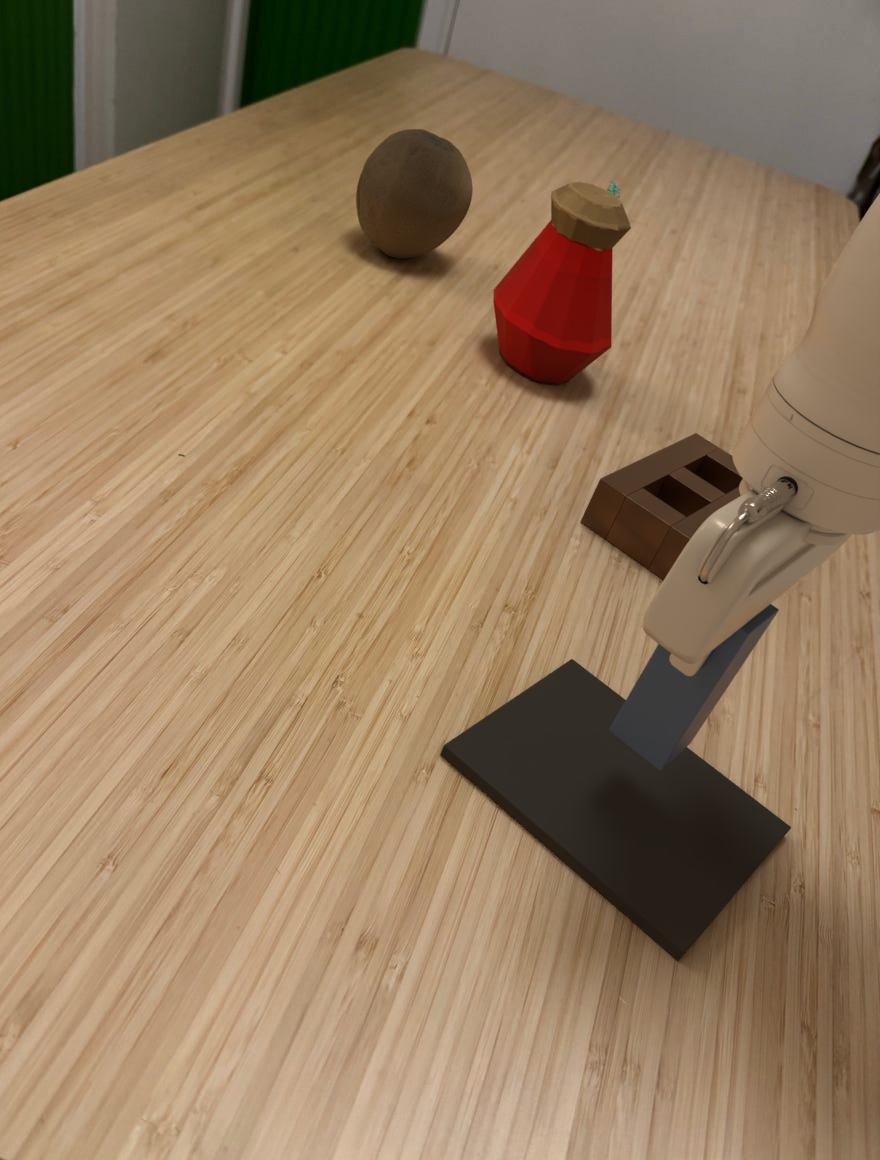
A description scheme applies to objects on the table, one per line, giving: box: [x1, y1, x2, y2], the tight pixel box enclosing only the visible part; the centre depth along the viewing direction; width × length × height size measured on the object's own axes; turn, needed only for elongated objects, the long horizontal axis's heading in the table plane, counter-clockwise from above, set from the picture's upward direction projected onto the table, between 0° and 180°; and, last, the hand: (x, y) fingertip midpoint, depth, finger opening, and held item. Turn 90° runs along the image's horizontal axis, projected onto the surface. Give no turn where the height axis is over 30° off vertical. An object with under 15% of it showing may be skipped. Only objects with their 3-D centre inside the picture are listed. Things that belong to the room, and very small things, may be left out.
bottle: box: [493, 181, 632, 387], centre depth 116 cm, size 16×14×20 cm
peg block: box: [580, 432, 743, 581], centre depth 101 cm, size 11×19×5 cm, turn 137°
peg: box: [609, 603, 780, 770], centre depth 65 cm, size 4×4×12 cm
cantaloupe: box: [355, 128, 474, 259], centre depth 132 cm, size 14×14×15 cm
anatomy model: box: [583, 180, 622, 200], centre depth 174 cm, size 5×8×7 cm
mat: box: [439, 658, 792, 962], centre depth 72 cm, size 20×16×1 cm
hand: (706, 649), depth 63 cm, fingers closed on peg, 4 cm apart
